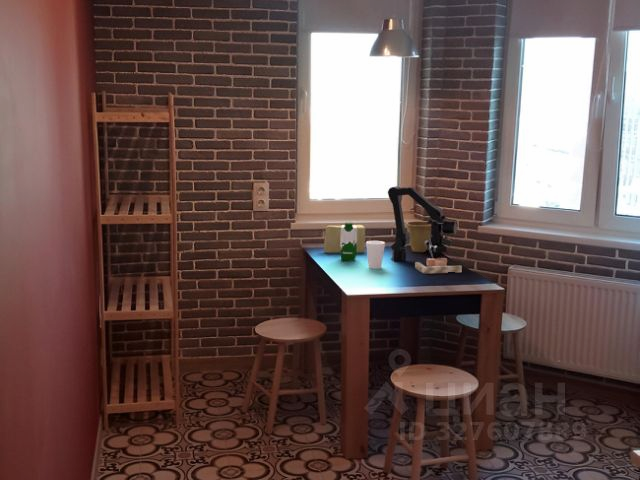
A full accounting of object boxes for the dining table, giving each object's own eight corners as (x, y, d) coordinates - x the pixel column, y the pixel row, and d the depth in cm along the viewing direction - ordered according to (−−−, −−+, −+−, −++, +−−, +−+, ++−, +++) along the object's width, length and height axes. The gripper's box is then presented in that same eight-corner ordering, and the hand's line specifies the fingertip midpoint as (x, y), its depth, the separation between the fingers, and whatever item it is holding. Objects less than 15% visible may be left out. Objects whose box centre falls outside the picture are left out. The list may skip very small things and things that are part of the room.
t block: (433, 269, 392) (433, 262, 391) (426, 265, 401) (426, 258, 401) (451, 268, 394) (451, 261, 393) (444, 264, 403) (444, 257, 403)
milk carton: (339, 261, 409) (340, 223, 405) (340, 257, 418) (341, 221, 414) (356, 261, 408) (356, 224, 404) (357, 258, 417) (357, 221, 413)
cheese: (325, 254, 427) (326, 227, 424) (322, 250, 437) (323, 224, 434) (365, 253, 431) (365, 226, 428) (361, 249, 440) (361, 223, 438)
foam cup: (386, 266, 397) (387, 241, 394) (380, 270, 388) (381, 244, 386) (369, 264, 401) (370, 240, 398) (362, 268, 392) (363, 243, 390)
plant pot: (400, 249, 442) (401, 222, 439) (423, 247, 448) (424, 220, 445) (414, 254, 428) (415, 226, 425) (437, 252, 434) (438, 224, 432)
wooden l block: (423, 273, 382) (423, 267, 381) (414, 267, 394) (415, 262, 394) (461, 272, 386) (461, 266, 385) (452, 266, 398) (452, 261, 398)
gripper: (457, 235, 393) (456, 265, 396) (444, 229, 411) (443, 257, 414) (436, 236, 391) (435, 266, 394) (424, 229, 409) (423, 258, 412)
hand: (434, 262), depth 403 cm, fingers closed
